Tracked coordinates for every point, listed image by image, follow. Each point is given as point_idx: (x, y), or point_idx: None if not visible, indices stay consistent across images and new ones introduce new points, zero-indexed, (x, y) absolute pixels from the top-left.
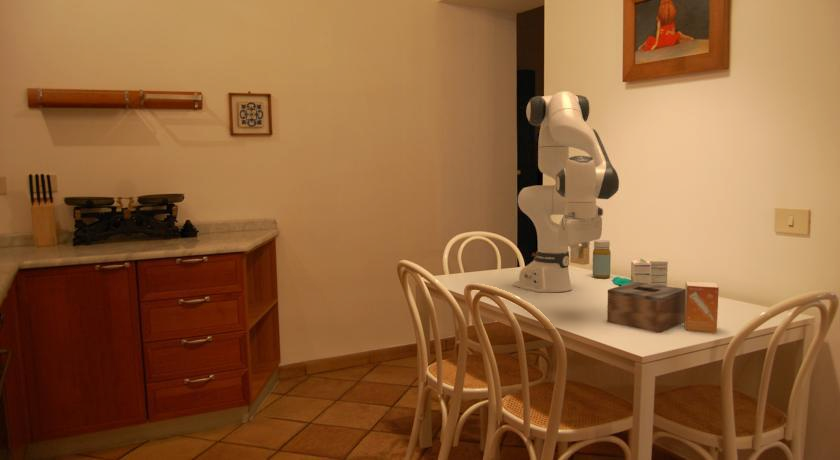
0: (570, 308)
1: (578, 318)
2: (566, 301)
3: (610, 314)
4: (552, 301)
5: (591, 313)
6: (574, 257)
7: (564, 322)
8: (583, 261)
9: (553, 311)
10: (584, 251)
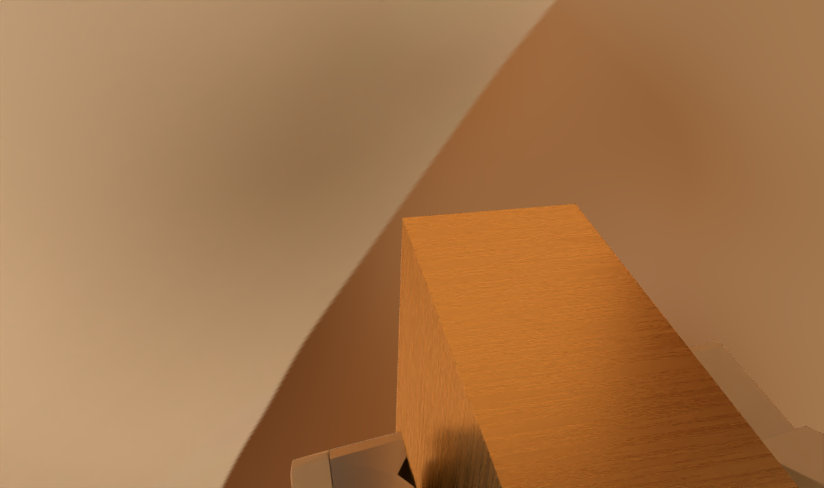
0: (126, 300)
1: (287, 77)
2: (17, 433)
3: None
4: (111, 462)
5: (75, 123)
6: None
7: (460, 59)
8: (602, 247)
9: (293, 297)
10: (704, 418)
